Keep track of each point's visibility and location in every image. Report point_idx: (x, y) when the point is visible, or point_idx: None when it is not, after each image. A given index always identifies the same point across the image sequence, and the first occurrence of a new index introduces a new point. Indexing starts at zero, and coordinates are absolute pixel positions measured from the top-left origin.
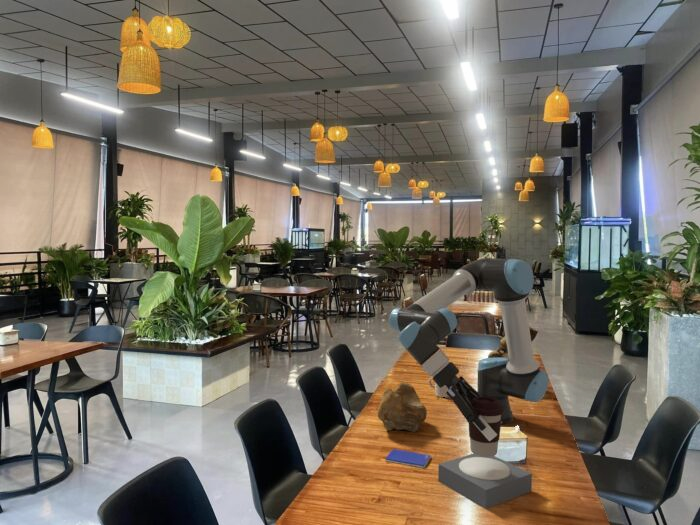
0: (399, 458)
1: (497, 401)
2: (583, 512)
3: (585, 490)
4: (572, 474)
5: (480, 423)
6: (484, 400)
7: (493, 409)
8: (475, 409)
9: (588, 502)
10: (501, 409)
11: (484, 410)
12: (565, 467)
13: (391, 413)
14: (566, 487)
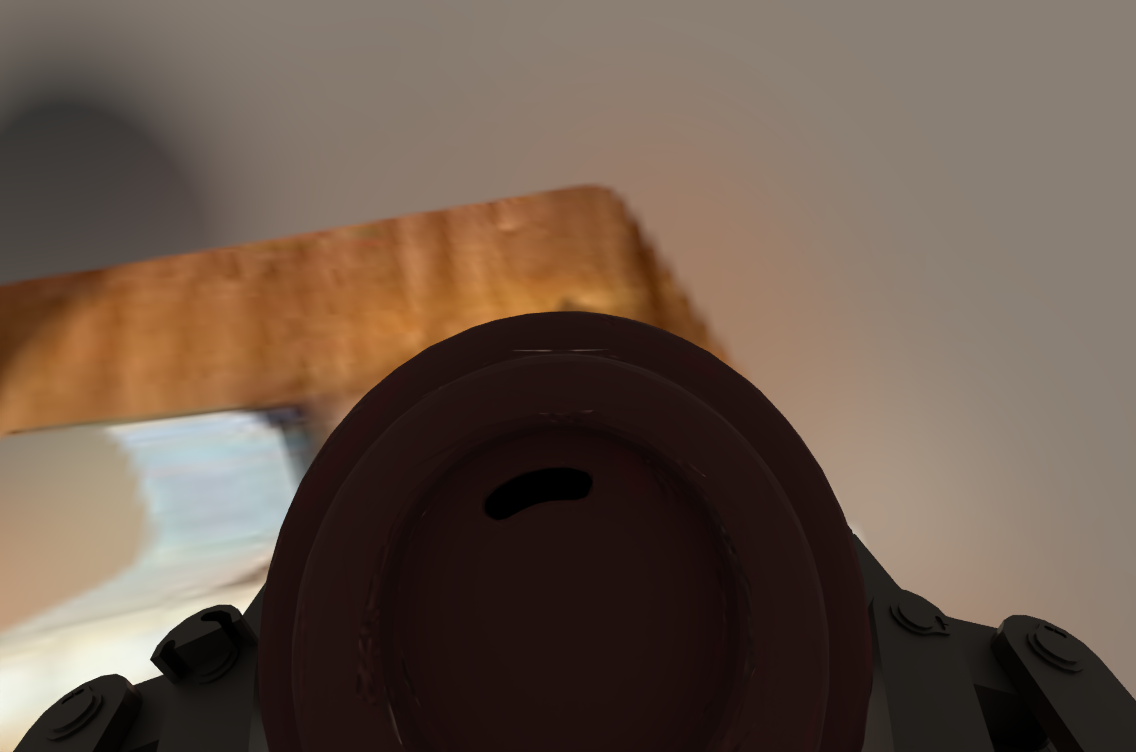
0: None
1: (540, 358)
2: (596, 219)
3: (453, 219)
4: (348, 255)
5: (860, 546)
6: (476, 627)
7: (715, 409)
8: (868, 701)
9: (529, 210)
10: (629, 319)
11: (842, 529)
12: (296, 277)
13: None
14: (454, 265)
